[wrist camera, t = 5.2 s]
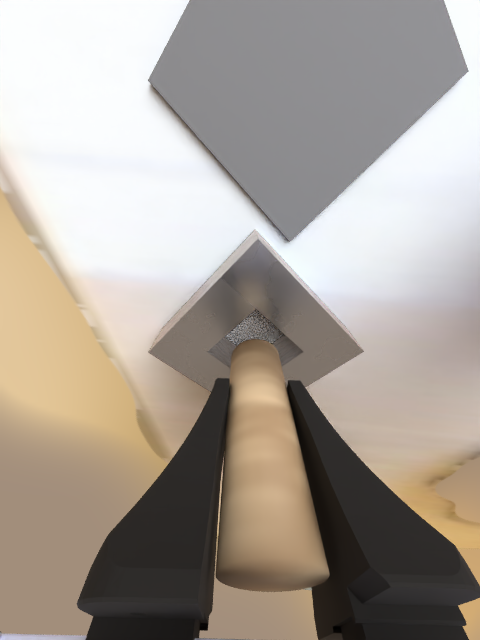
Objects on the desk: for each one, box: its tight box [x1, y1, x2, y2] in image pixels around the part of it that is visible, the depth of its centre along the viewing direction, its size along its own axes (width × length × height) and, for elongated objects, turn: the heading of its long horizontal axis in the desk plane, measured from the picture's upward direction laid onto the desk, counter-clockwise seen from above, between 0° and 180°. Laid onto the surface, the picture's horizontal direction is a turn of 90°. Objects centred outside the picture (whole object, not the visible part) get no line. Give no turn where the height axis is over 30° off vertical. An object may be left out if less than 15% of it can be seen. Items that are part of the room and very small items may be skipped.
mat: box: [148, 0, 468, 242], centre depth 10 cm, size 10×10×1 cm
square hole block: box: [149, 230, 364, 392], centre depth 16 cm, size 10×10×3 cm
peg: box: [216, 339, 330, 592], centre depth 10 cm, size 3×3×9 cm
